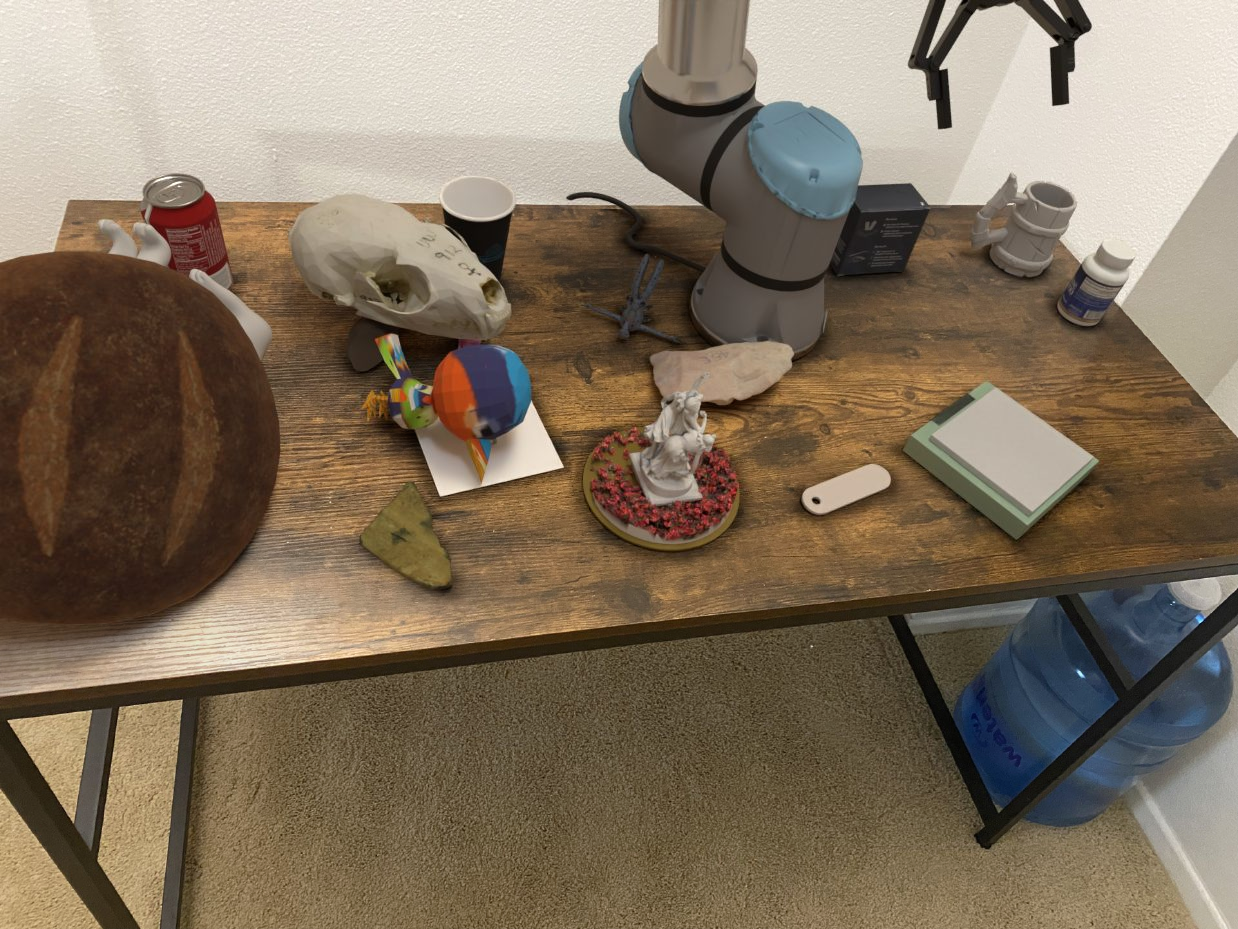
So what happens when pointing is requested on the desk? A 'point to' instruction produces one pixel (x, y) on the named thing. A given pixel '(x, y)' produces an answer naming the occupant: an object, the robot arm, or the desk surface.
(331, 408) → the desk surface
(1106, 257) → the pill bottle
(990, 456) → the scale
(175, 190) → the soda can
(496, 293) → the skull
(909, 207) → the box
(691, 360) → the stone tool
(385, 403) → the toy
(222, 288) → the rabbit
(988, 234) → the mug
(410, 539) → the stone
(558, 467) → the thin white square sheet
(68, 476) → the bread
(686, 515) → the figurine
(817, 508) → the keychain
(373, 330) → the figurine
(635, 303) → the figurine
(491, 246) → the dixie cup
